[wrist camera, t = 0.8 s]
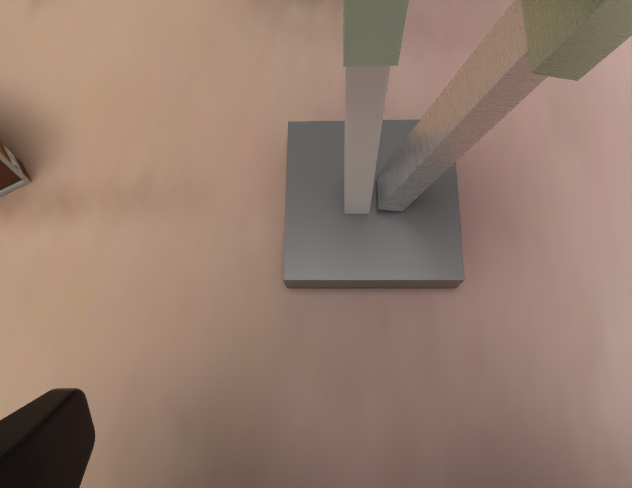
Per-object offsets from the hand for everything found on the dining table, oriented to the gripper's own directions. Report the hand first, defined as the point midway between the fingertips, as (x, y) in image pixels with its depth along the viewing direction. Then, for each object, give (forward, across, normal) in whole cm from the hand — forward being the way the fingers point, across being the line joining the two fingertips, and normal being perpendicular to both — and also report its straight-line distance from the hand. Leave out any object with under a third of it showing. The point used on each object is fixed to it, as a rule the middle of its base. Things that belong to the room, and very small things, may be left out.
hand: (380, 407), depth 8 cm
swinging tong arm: (+14, -1, +1) cm, 14 cm away
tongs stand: (+15, -1, +2) cm, 15 cm away
